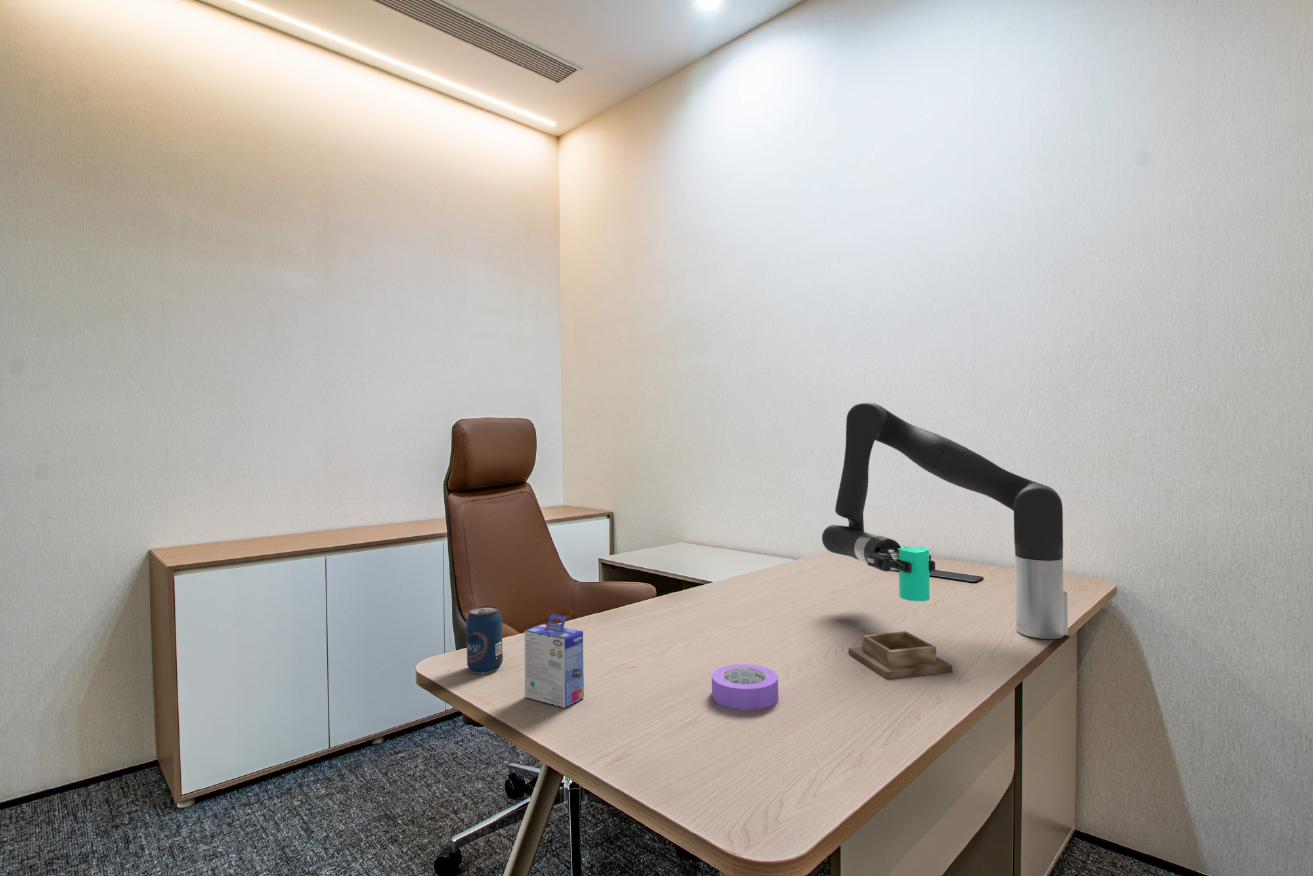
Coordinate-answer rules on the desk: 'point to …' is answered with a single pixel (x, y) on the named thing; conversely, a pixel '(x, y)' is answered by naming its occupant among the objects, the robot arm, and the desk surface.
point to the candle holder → (899, 655)
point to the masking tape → (745, 687)
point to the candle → (914, 574)
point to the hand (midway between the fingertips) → (921, 567)
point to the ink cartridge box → (554, 663)
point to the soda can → (484, 639)
